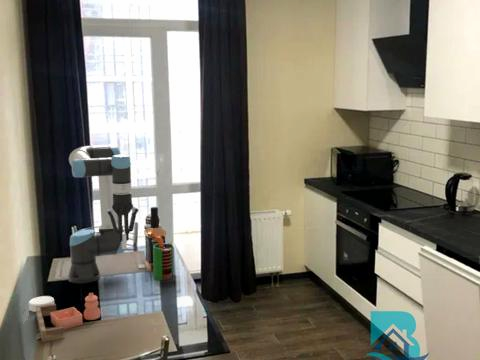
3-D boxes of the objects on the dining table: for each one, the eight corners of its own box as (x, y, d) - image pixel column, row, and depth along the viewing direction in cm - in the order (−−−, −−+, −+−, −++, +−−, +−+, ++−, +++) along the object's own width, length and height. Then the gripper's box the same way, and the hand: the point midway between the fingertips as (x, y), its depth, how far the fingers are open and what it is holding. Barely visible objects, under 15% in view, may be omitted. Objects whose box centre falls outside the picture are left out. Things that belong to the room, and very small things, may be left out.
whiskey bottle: (144, 266, 271) (142, 206, 267) (163, 264, 275) (161, 204, 271) (149, 272, 262) (147, 209, 257) (168, 269, 266) (166, 208, 261)
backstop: (36, 316, 208) (35, 306, 207) (56, 312, 211) (55, 303, 211) (42, 342, 185) (41, 331, 184) (64, 338, 188) (63, 327, 187)
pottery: (59, 331, 194) (57, 306, 193) (51, 322, 202) (49, 298, 200) (104, 319, 205) (103, 295, 204) (95, 311, 213) (94, 288, 211)
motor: (168, 280, 249) (166, 240, 246) (150, 279, 251) (149, 239, 248) (175, 274, 259) (173, 234, 256) (158, 273, 260) (156, 234, 258)
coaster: (57, 303, 222) (57, 295, 222) (50, 312, 212) (49, 304, 212) (34, 303, 222) (33, 295, 221) (25, 312, 212) (24, 304, 212)
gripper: (107, 195, 207) (110, 252, 211) (140, 193, 212) (141, 248, 216) (104, 192, 213) (106, 247, 217) (135, 190, 219) (137, 244, 223)
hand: (124, 248), depth 217 cm, fingers closed
